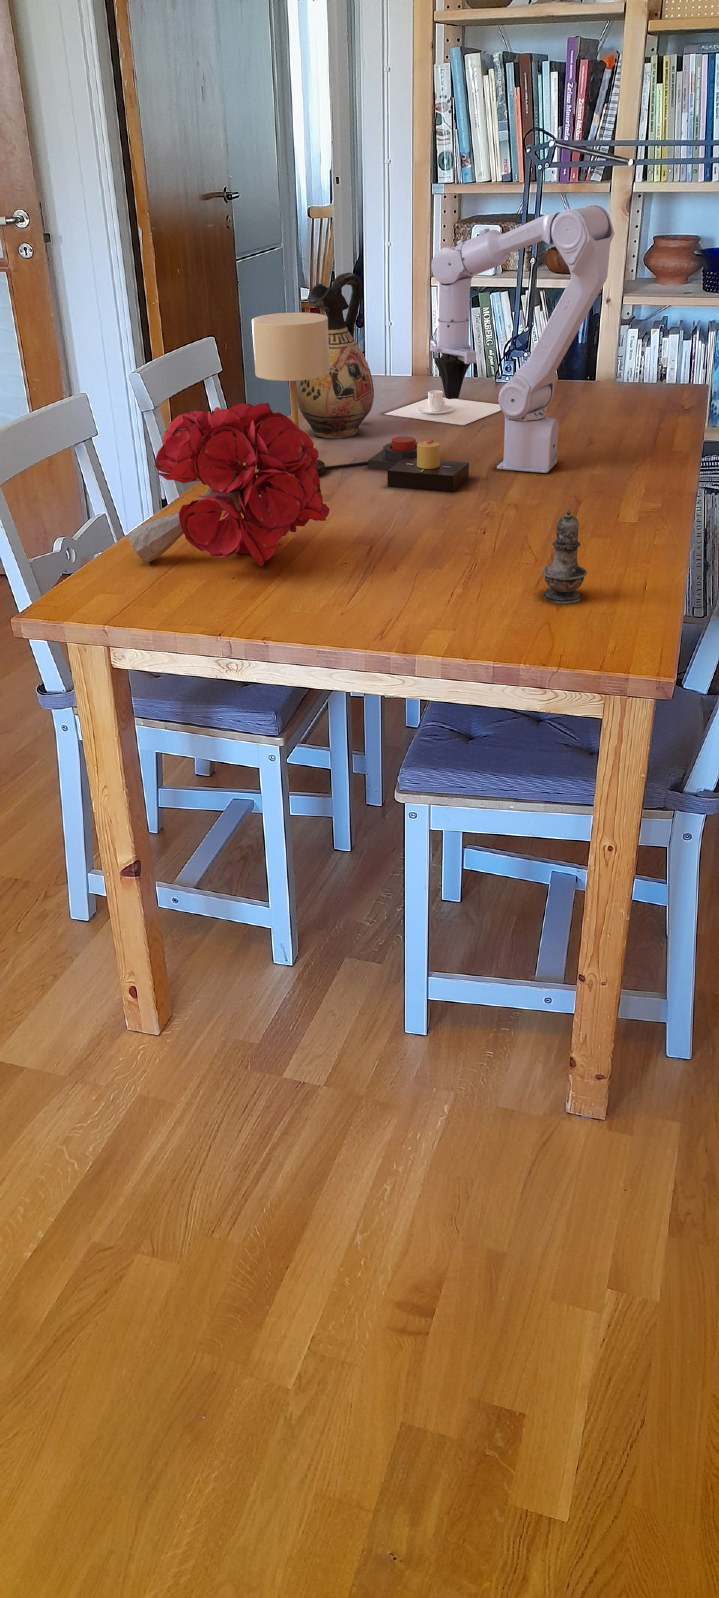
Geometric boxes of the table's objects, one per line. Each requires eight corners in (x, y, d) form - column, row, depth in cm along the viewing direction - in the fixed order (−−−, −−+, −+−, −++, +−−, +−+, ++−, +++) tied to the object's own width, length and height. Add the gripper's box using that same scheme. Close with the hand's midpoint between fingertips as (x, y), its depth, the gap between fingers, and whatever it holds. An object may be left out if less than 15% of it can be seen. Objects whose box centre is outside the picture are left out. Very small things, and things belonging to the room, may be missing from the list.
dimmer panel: (468, 479, 212) (469, 461, 210) (453, 493, 205) (453, 474, 203) (404, 473, 216) (404, 456, 214) (387, 487, 209) (387, 469, 207)
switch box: (438, 462, 222) (439, 443, 220) (425, 473, 215) (425, 454, 214) (383, 458, 225) (383, 439, 224) (368, 469, 219) (367, 449, 217)
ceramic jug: (332, 447, 233) (326, 281, 218) (283, 433, 244) (274, 274, 228) (396, 431, 243) (395, 271, 228) (346, 419, 253) (342, 265, 238)
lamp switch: (419, 446, 220) (419, 437, 219) (411, 452, 216) (411, 442, 215) (396, 444, 221) (396, 435, 220) (388, 450, 218) (388, 441, 217)
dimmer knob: (435, 469, 206) (436, 445, 204) (414, 467, 208) (413, 444, 206) (442, 463, 210) (443, 439, 208) (421, 462, 211) (421, 438, 209)
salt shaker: (536, 590, 164) (541, 503, 158) (579, 587, 164) (585, 501, 158) (546, 605, 159) (551, 517, 153) (589, 603, 159) (596, 515, 153)
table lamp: (376, 463, 222) (373, 311, 209) (342, 487, 209) (337, 327, 196) (288, 456, 228) (280, 308, 215) (250, 479, 215) (238, 323, 202)
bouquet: (168, 634, 171) (347, 528, 163) (68, 491, 162) (252, 372, 155) (193, 590, 190) (354, 493, 182) (105, 460, 182) (270, 353, 174)
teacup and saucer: (431, 404, 263) (431, 385, 261) (462, 408, 259) (462, 389, 256) (409, 412, 257) (409, 393, 255) (440, 417, 252) (440, 397, 250)
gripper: (415, 316, 219) (415, 392, 226) (452, 327, 207) (450, 408, 214) (449, 312, 221) (448, 388, 228) (487, 324, 209) (485, 403, 216)
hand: (452, 397), depth 221 cm, fingers closed
